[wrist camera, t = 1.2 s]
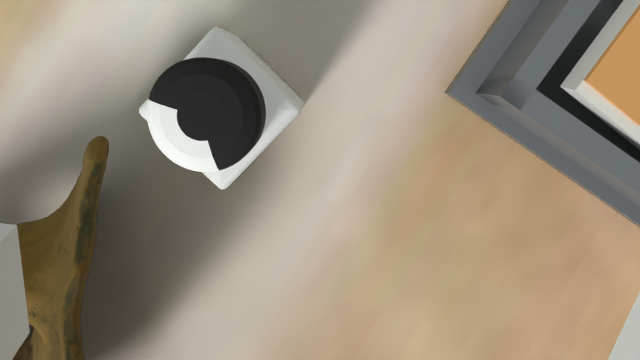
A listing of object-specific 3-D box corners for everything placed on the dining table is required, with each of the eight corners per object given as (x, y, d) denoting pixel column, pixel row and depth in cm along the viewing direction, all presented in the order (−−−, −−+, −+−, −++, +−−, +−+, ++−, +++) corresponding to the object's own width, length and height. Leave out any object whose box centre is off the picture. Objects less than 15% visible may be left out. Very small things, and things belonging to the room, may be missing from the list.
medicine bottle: (234, 32, 40) (196, 14, 28) (306, 103, 41) (299, 115, 29) (167, 104, 41) (103, 117, 29) (239, 172, 42) (205, 212, 30)
